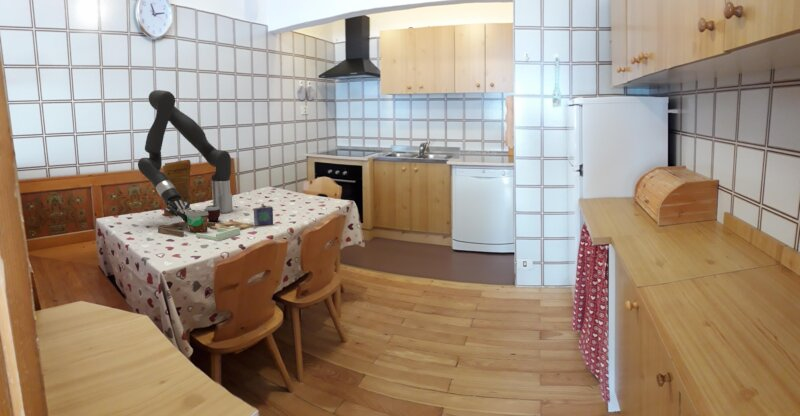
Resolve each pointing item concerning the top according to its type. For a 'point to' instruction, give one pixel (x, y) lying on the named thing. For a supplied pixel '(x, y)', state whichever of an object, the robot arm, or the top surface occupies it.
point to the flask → (263, 215)
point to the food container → (197, 220)
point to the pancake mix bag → (178, 179)
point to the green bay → (221, 234)
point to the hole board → (234, 223)
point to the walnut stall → (169, 228)
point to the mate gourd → (213, 212)
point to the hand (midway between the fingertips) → (187, 221)
